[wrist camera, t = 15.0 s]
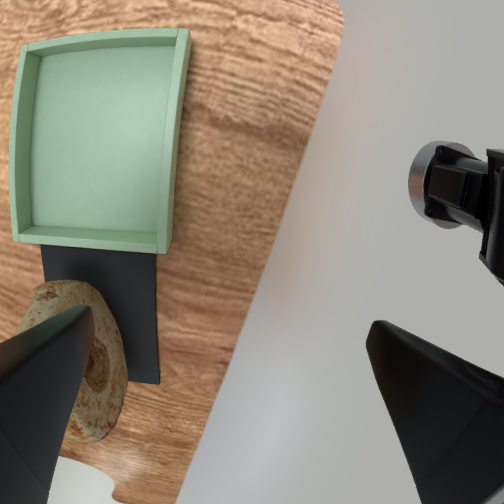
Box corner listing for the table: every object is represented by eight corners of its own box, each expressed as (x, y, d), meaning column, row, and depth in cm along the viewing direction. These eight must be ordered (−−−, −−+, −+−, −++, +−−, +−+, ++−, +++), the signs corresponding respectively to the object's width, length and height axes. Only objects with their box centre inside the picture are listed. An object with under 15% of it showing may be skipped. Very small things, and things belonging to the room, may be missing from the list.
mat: (155, 252, 20) (154, 254, 20) (160, 381, 25) (159, 384, 24) (42, 243, 19) (40, 245, 19) (66, 367, 23) (65, 370, 23)
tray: (192, 40, 16) (189, 28, 13) (172, 240, 20) (166, 254, 18) (39, 51, 14) (21, 45, 12) (30, 230, 19) (13, 242, 16)
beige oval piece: (143, 368, 23) (122, 469, 14) (105, 372, 23) (74, 465, 14) (96, 253, 20) (27, 338, 10) (55, 262, 19) (-20, 341, 10)
